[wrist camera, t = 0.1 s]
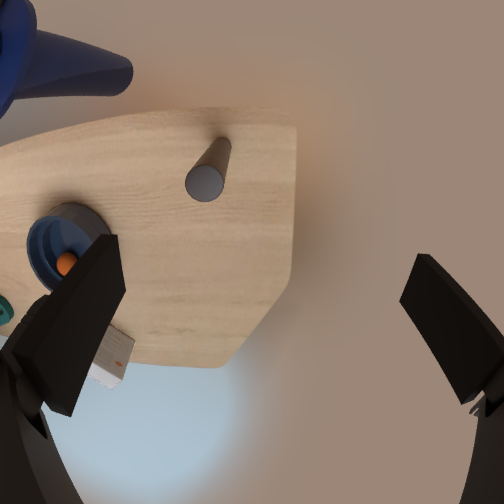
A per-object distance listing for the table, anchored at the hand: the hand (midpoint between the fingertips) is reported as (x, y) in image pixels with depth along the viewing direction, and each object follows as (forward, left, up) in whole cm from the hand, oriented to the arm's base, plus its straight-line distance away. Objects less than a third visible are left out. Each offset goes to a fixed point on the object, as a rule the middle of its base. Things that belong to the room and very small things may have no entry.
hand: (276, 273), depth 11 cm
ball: (+17, -29, -26) cm, 43 cm away
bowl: (+15, -28, -29) cm, 43 cm away
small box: (+36, -25, -29) cm, 52 cm away
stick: (-1, -4, -29) cm, 29 cm away
